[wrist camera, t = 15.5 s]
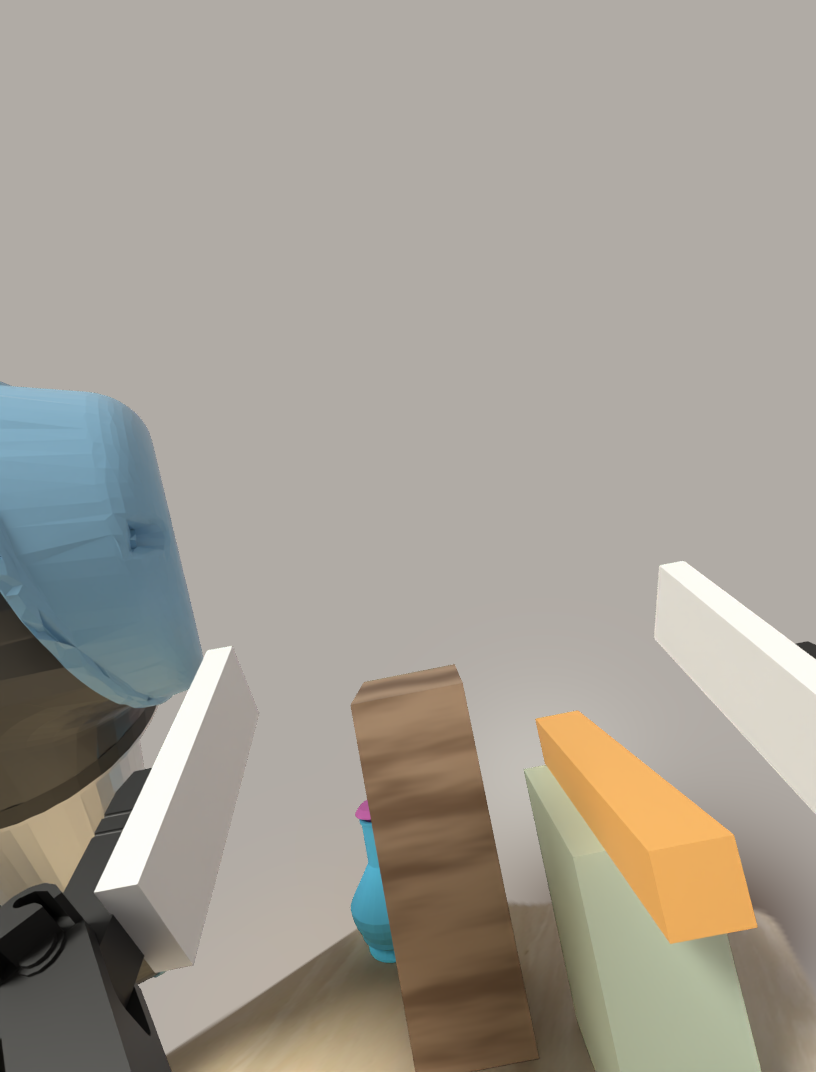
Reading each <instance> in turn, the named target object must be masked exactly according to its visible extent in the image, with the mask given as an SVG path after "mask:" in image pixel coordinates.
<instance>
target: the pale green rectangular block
mask: <svg viewBox="0 0 816 1072" xmlns="http://www.w3.org/2000/svg"><path fill="white" fill-rule="evenodd" d="M524 774H525V778H526V783H527V788H528V793H529V797H530V802H531V806H532V811H533V816H534V821H535V825H536V830H537V835H538V839H539V844H540V849H541V853H542V858H543V863H544V867H545V872H546V877H547V882H548V886H549V891H550V896H551V900H552V905H553V910H554V914H555V919H556V924H557V928H558V933H559V938H560V943H561V947H562V952H563V957H564V961H565V966H566V971H567V975H568V980H569V985H570V989H571V994H572V999H573V1003H574V1008H575V1013H576V1018H577V1022H578V1025H579V1027H580V1030H581V1033H582V1036H583V1039H584V1041H585V1044H586V1047H587V1050H588V1052H589V1055H590V1058H591V1061H592V1064H593V1066H594V1069H595V1072H761V1068H760V1064H759V1060H758V1056H757V1052H756V1048H755V1043H754V1039H753V1035H752V1031H751V1027H750V1023H749V1019H748V1015H747V1011H746V1007H745V1003H744V999H743V995H742V991H741V987H740V983H739V979H738V975H737V971H736V967H735V963H734V959H733V955H732V951H731V947H730V943H729V939H728V935H727V933H726V934H721V935H715V936H710V937H705V938H700V939H694V940H689V941H684V942H679V943H673V944H670V943H669V941H668V940H667V939H666V937H665V936H664V934H663V933H662V931H661V930H660V928H659V927H658V926H657V924H656V923H655V921H654V920H653V918H652V917H651V915H650V914H649V913H648V911H647V910H646V908H645V907H644V905H643V904H642V902H641V901H640V900H639V898H638V897H637V895H636V894H635V892H634V891H633V890H632V888H631V887H630V885H629V884H628V882H627V881H626V879H625V878H624V877H623V875H622V874H621V872H620V871H619V869H618V868H617V866H616V865H615V864H614V862H613V861H612V859H611V858H610V856H609V855H608V853H607V852H606V851H605V849H604V848H603V846H602V845H601V843H600V842H599V841H598V839H597V838H596V836H595V835H594V833H593V832H592V830H591V829H590V828H589V826H588V825H587V823H586V822H585V820H584V819H583V817H582V816H581V815H580V813H579V812H578V810H577V809H576V807H575V806H574V804H573V803H572V802H571V800H570V799H569V797H568V796H567V794H566V793H565V791H564V790H563V789H562V787H561V786H560V784H559V783H558V781H557V780H556V779H555V777H554V776H553V774H552V773H551V771H550V770H549V768H548V767H547V766H546V765H544V766H538V767H533V768H528V769H524Z"/></svg>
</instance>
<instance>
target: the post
mask: <svg viewBox="0 0 816 1072" xmlns="http://www.w3.org/2000/svg"><path fill="white" fill-rule="evenodd" d="M351 710H352V716H353V721H354V727H355V733H356V738H357V744H358V750H359V755H360V761H361V766H362V772H363V778H364V784H365V789H366V795H367V800H368V806H369V812H370V817H371V823H372V829H373V834H374V840H375V846H376V851H377V857H378V863H379V868H380V874H381V879H382V885H383V891H384V896H385V902H386V908H387V913H388V919H389V925H390V930H391V936H392V942H393V947H394V953H395V958H396V964H397V970H398V975H399V981H400V987H401V992H402V998H403V1004H404V1009H405V1015H406V1020H407V1026H408V1032H409V1037H410V1043H411V1049H412V1054H413V1060H414V1066H415V1071H416V1072H471V1071H476V1070H482V1069H487V1068H492V1067H497V1066H502V1065H508V1064H513V1063H518V1062H523V1061H528V1060H534V1059H539V1056H538V1051H537V1046H536V1041H535V1036H534V1031H533V1026H532V1021H531V1016H530V1011H529V1007H528V1002H527V997H526V992H525V987H524V982H523V977H522V972H521V967H520V962H519V957H518V952H517V948H516V943H515V938H514V933H513V928H512V923H511V918H510V913H509V908H508V903H507V898H506V894H505V889H504V884H503V879H502V874H501V869H500V864H499V859H498V854H497V850H496V844H495V840H494V835H493V830H492V825H491V820H490V815H489V810H488V805H487V800H486V795H485V791H484V786H483V781H482V776H481V771H480V766H479V761H478V756H477V752H476V746H475V741H474V736H473V732H472V727H471V722H470V717H469V712H468V707H467V702H466V697H465V692H464V688H463V683H462V680H461V678H460V676H459V674H458V671H457V669H456V667H455V665H454V664H453V665H448V666H444V667H438V668H433V669H428V670H423V671H418V672H413V673H408V674H403V675H398V676H393V677H387V678H382V679H377V680H372V681H367V682H364V683H363V685H362V686H361V688H360V690H359V692H358V693H357V695H356V697H355V699H354V700H353V702H352V703H351Z"/></svg>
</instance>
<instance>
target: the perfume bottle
mask: <svg viewBox="0 0 816 1072" xmlns="http://www.w3.org/2000/svg"><path fill="white" fill-rule="evenodd" d="M355 815H356V817H357V818H359V819H360V824H361V825H362V828H363V833H364V840H365V845H366V851H367V856H368V865H367V867H366V869H365V872H364V874H363V876H362V879H361V881H360V883H359V886H358V888H357V890H356V892H355V894H354V897H353V899H352V903H351V912H352V916H353V919H354V922H355V924H356V926H357V928H358V930H359V931H360V933H361V934H362V935H363V938H364V941H365V942H366V943H367V945H369V949H370V952H371V955H372V956H373V957H374V958H375V959H376V960H378V961H381V962H385V963H394V962H396V958H395V953H394V947H393V942H392V936H391V930H390V925H389V919H388V913H387V908H386V902H385V896H384V891H383V885H382V879H381V874H380V868H379V863H378V857H377V851H376V846H375V840H374V834H373V829H372V823H371V817H370V812H369V806H368V800H366V801H364V802H363V803H362V804H361V805H360V806H359V808H358V810H357V811H356V814H355Z"/></svg>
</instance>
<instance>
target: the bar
mask: <svg viewBox="0 0 816 1072" xmlns="http://www.w3.org/2000/svg"><path fill="white" fill-rule="evenodd" d="M535 720H536V725H537V729H538V734H539V738H540V743H541V747H542V752H543V757H544V761H545V764H546V766H547V767H548V768H549V770H550V771H551V773H552V774H553V776H554V777H555V779H556V780H557V781H558V783H559V784H560V786H561V787H562V789H563V790H564V791H565V793H566V794H567V796H568V797H569V799H570V800H571V802H572V803H573V804H574V806H575V807H576V809H577V810H578V812H579V813H580V815H581V816H582V817H583V819H584V820H585V822H586V823H587V825H588V826H589V828H590V829H591V830H592V832H593V833H594V835H595V836H596V838H597V839H598V841H599V842H600V843H601V845H602V846H603V848H604V849H605V851H606V852H607V853H608V855H609V856H610V858H611V859H612V861H613V862H614V864H615V865H616V866H617V868H618V869H619V871H620V872H621V874H622V875H623V877H624V878H625V879H626V881H627V882H628V884H629V885H630V887H631V888H632V890H633V891H634V892H635V894H636V895H637V897H638V898H639V900H640V901H641V902H642V904H643V905H644V907H645V908H646V910H647V911H648V913H649V914H650V915H651V917H652V918H653V920H654V921H655V923H656V924H657V926H658V927H659V928H660V930H661V931H662V933H663V934H664V936H665V937H666V939H667V940H668V941H669V943H670V944H673V943H679V942H684V941H689V940H694V939H700V938H705V937H710V936H715V935H721V934H726V933H731V932H736V931H742V930H747V929H752V928H757V923H756V919H755V915H754V911H753V907H752V903H751V900H750V896H749V892H748V888H747V884H746V880H745V876H744V872H743V868H742V864H741V860H740V857H739V853H738V849H737V845H736V841H735V837H734V835H733V834H732V833H731V832H730V831H728V830H727V829H726V828H724V827H723V826H722V825H721V824H720V823H718V822H717V821H716V820H714V819H713V818H712V817H711V816H710V815H708V814H707V813H706V812H704V811H703V810H702V809H701V808H699V807H698V806H697V805H696V804H695V803H693V802H692V801H691V800H690V799H688V798H687V797H686V796H685V795H683V794H682V793H681V792H680V791H678V790H677V789H676V788H675V787H673V786H672V785H671V784H669V783H668V782H667V781H666V780H664V779H663V778H662V777H661V776H659V775H658V774H657V773H655V772H654V771H653V770H652V769H651V768H649V767H648V766H647V765H645V764H644V763H643V762H642V761H641V760H639V759H638V758H637V757H636V756H634V755H633V754H632V753H630V752H629V751H628V750H627V749H626V748H624V747H623V746H622V745H621V744H619V743H618V742H617V741H615V740H614V739H613V738H612V737H611V736H609V735H608V734H607V733H605V732H604V731H603V730H602V729H600V728H599V727H598V726H597V725H596V724H594V723H593V722H592V721H590V720H589V719H588V718H587V717H585V716H584V715H583V714H582V713H580V712H579V711H573V712H567V713H563V714H557V715H552V716H547V717H542V718H537V719H535Z"/></svg>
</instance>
